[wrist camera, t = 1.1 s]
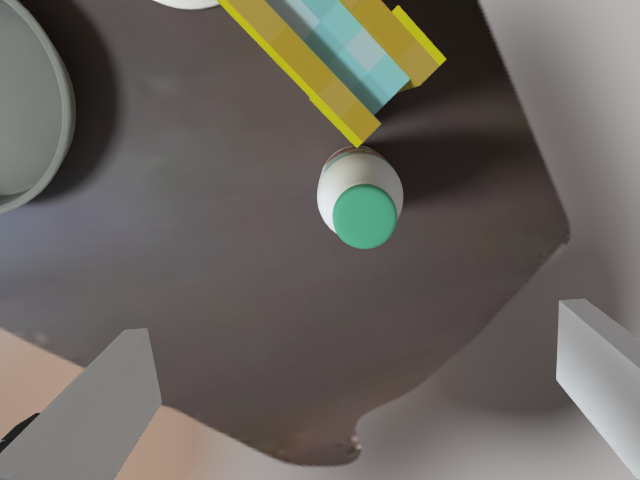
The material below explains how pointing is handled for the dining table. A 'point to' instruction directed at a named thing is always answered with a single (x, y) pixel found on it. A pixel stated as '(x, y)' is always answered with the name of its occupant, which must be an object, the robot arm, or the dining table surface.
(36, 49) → the cake pan
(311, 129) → the dining table surface
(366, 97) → the book
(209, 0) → the white round plate
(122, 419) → the robot arm
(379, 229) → the milk bottle
